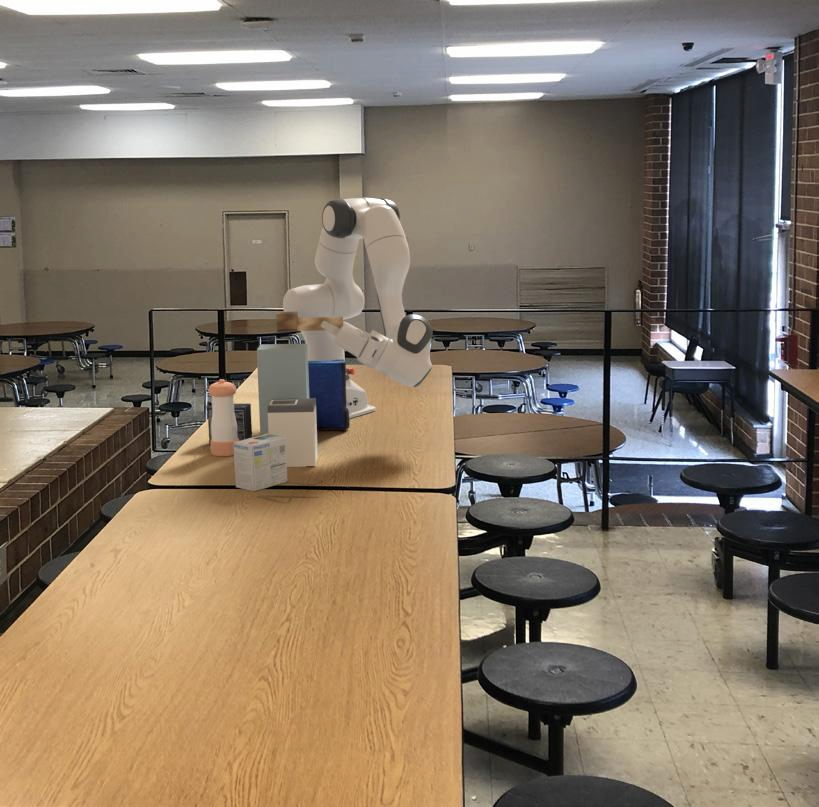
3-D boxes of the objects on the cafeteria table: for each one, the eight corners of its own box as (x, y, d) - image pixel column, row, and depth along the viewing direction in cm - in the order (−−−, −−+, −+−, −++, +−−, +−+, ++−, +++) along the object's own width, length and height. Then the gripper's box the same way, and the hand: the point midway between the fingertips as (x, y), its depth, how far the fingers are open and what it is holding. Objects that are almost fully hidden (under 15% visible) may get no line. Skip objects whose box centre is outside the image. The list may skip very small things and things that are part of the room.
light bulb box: (268, 477, 261) (266, 432, 259) (288, 482, 257) (287, 436, 255) (234, 487, 253) (231, 441, 251) (254, 492, 249) (252, 445, 247)
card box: (317, 456, 281) (315, 397, 278) (315, 466, 271) (313, 405, 268) (273, 457, 280) (271, 398, 278) (269, 467, 271) (267, 406, 268)
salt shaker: (205, 454, 285) (201, 380, 282) (222, 448, 291) (219, 376, 288) (228, 457, 282) (224, 382, 278) (245, 451, 288) (242, 378, 285)
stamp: (277, 331, 280) (276, 313, 279) (278, 329, 285) (278, 311, 284) (342, 330, 280) (342, 312, 280) (343, 327, 285) (342, 310, 284)
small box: (253, 440, 300) (251, 402, 298) (247, 446, 294) (245, 407, 292) (215, 440, 301) (213, 402, 300) (208, 446, 295) (206, 407, 293)
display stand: (312, 445, 294) (308, 343, 289) (309, 454, 283) (306, 349, 278) (264, 446, 293) (259, 344, 288) (259, 455, 283) (255, 350, 278)
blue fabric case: (350, 428, 314) (349, 357, 310) (348, 432, 309) (346, 360, 305) (300, 428, 315) (298, 358, 312) (296, 432, 310) (294, 360, 307)
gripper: (376, 332, 294) (330, 306, 292) (376, 342, 273) (326, 315, 272) (365, 353, 295) (318, 328, 293) (363, 364, 274) (314, 337, 273)
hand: (322, 321), depth 282 cm, fingers closed on stamp, 3 cm apart
